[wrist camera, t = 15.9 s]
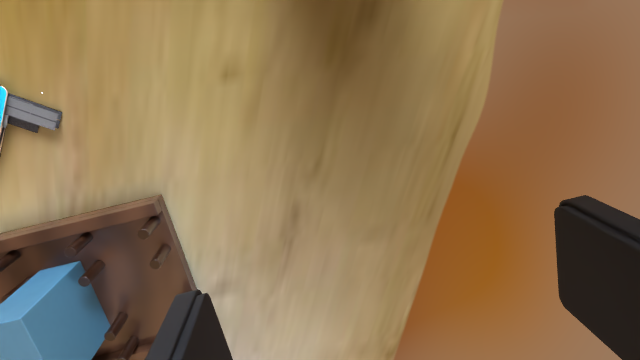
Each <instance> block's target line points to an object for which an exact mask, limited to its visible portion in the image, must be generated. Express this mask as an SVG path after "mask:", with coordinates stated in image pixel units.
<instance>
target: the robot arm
mask: <svg viewBox="0 0 640 360" xmlns="http://www.w3.org/2000/svg"><path fill="white" fill-rule="evenodd" d="M554 218H555V235H556V252H557V269H558V270H557V271H558V288H559V297H560V300H561V302H562V304H563V306H564V307H565V308H566V309H567V310H568V311H569V312H570V313H571V314H572V315H573V316H575V317H576V318H577V319H578V320H579V321H580V322H581V323H582V324H584V325H585V326H586V327H587V328H588V329H589V330H590V331H591V332H592V333H593V334H594V335H596V336H597V337H598V338H599V339H600V340H601V341H602V342H603V343H604V344H605V345H607V346H608V347H609V348H610V349H611V350H612V351H613V352H614V353H615V354H617V355H618V356H619V357H620V358H621V359H622V360H640V220H639V219H637V218H635V217H633V216H630V215H629V214H626V213H624V212H622V211H620V210H618V209H615V208H613V207H611V206H609V205H607V204H605V203H602V202H600V201H598V200H596V199H594V198H592V197H589V196H586V195H584V196H580V197H576V198H571V199H567V200H563V201H561V202H560V205H559V207H557V208H556V209H555V212H554ZM144 360H233V359H232V356H231V353H230V350H229V348H228V345H227V342H226V339H225V337H224V334H223V331H222V328H221V326H220V323H219V320H218V317H217V315H216V312H215V309H214V306H213V304H212V301H211V298H210V296H209V295H208V294H207V293H205V294H202V293H201V291H200V290H194V291H190V292H186V293H182V294H178V295H176V296H175V298H174V300H173V302H172V304H171V306H170V308H169V310H168V312H167V314H166V317H165V319H164V321H163V323H162V325H161V327H160V329H159V331H158V333H157V335H156V337H155V340H154V342H153V344H152V346H151V348H150V350H149V352H148V354H147V356H146V358H145V359H144Z"/></svg>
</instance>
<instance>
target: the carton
mask: <svg viewBox="0 0 640 360" xmlns="http://www.w3.org/2000/svg"><path fill="white" fill-rule="evenodd" d="M84 273H85V270H84V268H83V266H82V263H81V261H77V262H73V263H68V264H64V265H60V266H56V267H52V268H48V269H44V270H40V271H39V272H38V273H36V274H35V275H34V276H33V277H32V278H31V279H29V280H28V281H27V282H26V283H25V284H23V285H22V286H21V287H20V288H19V289H18V290H16V291H15V292H14V293H13V294H12V295H11V296H9V297H8V298H7V299H6V300H5V301H4V302H2V303H1V304H0V360H92V358H93V357H94V355H95V354H96V352H97V351H98V349H99V347H100V346H101V344H102V343H103V341H104V340H105V338H104V335H105V333H106V332H107V330H108V329H109V327H110V324H109V322H108V319H107V317H106V315H105V313H104V311H103V309H102V307H101V304H100V302H99V300H98V298H97V296H96V294H95V291H94V289H93V287H92V285H91V283H90V284H89V285H88V286H86V287H83V286H80V285H79V283H78V280H79V278H80V277H81V276H82V275H83V274H84Z"/></svg>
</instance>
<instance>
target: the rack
mask: <svg viewBox="0 0 640 360" xmlns="http://www.w3.org/2000/svg"><path fill="white" fill-rule="evenodd" d="M77 261H81V263H82V266H83V268H84V270H85V273H84V274H83V275H82V276H81V277H80V278H79V280H78V283H79V285H80V286H83V287H86V286H88V285H89V284H90V283H91V285H92V287H93V289H94V291H95V294H96V296H97V298H98V300H99V302H100V304H101V307H102V309H103V311H104V313H105V315H106V317H107V319H108V322H109V324H110V327H109V329H108V330H107V332H106V333H105V335H104V338H105V340H104V341H103V343H102V344H101V346H100V347H99V349H98V351H97V352H96V354H95V355H94V357H93V358H92V360H144V359H145V358H146V356H147V354H148V352H149V350H150V348H151V346H152V344H153V342H154V340H155V337H156V335H157V333H158V331H159V329H160V327H161V325H162V323H163V321H164V319H165V317H166V314H167V312H168V310H169V308H170V306H171V304H172V302H173V300H174V298H175V296H176V295H178V294H182V293H186V292H190V291H194V290H197V288H196V286H195V283H194V280H193V277H192V275H191V272H190V269H189V267H188V264H187V261H186V259H185V256H184V253H183V251H182V248H181V245H180V243H179V240H178V237H177V235H176V232H175V229H174V227H173V224H172V221H171V218H170V216H169V213H168V210H167V208H166V205H165V202H164V200H163V197H162V195H158V196H154V197H150V198H145V199H141V200H137V201H133V202H129V203H125V204H121V205H117V206H113V207H108V208H104V209H100V210H96V211H92V212H88V213H84V214H80V215H76V216H71V217H67V218H63V219H59V220H55V221H51V222H47V223H43V224H38V225H34V226H30V227H26V228H22V229H18V230H14V231H10V232H6V233H1V234H0V304H1V303H2V302H4V301H5V300H6V299H7V298H8V297H9V296H11V295H12V294H13V293H14V292H15V291H16V290H18V289H19V288H20V287H21V286H22V285H23V284H25V283H26V282H27V281H28V280H29V279H31V278H32V277H33V276H34V275H35V274H36V273H38V272H39V271H40V270H44V269H48V268H52V267H56V266H60V265H64V264H68V263H73V262H77Z"/></svg>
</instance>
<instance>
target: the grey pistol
mask: <svg viewBox="0 0 640 360" xmlns="http://www.w3.org/2000/svg"><path fill="white" fill-rule="evenodd" d="M41 93H42V94H43V92H41ZM61 115H62V112H60V111H57V110H54V109H51V108H48V107H45V106H43V105H41V104H38V103H35V102H32V101H29V100H26V99H23V98H20V97H17V96H15V95H12V94H9V93H7V90H6V89H5V88H4V87H3V86H0V155H1V150H2V145H3V139H4V134H5V129H6V128H7V124H8V123H9V124H12V125H15V126H18V127H21V128H24V129H27V130H29V131H32V132H35V133H38V128H39V125H40V126H43V127H46V128H48V129H51V130H54V131H55V128H59V124H60V121H58V120H57V119H59V120H60V119H61Z"/></svg>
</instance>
